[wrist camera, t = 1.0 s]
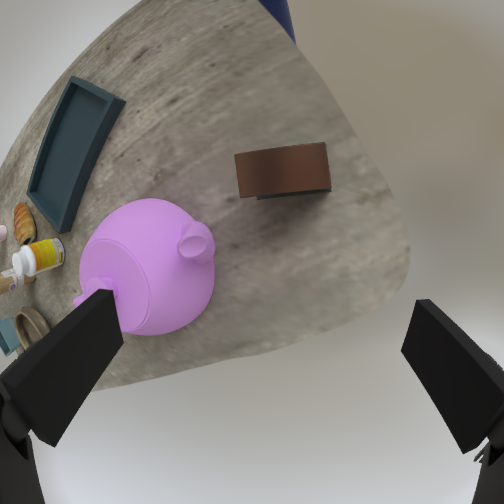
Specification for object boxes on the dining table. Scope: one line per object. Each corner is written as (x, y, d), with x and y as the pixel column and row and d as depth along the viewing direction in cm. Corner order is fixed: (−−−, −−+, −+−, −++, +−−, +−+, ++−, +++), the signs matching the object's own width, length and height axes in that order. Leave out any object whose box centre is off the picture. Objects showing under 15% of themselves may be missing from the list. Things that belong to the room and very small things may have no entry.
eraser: (324, 154, 30) (329, 136, 19) (329, 191, 30) (337, 192, 20) (257, 162, 32) (228, 150, 21) (262, 198, 32) (235, 204, 22)
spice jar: (35, 285, 47) (-9, 304, 34) (26, 275, 48) (-17, 292, 35) (35, 267, 46) (-11, 285, 33) (26, 258, 46) (-19, 274, 34)
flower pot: (33, 338, 53) (11, 352, 45) (26, 344, 56) (5, 357, 47) (18, 309, 52) (-5, 321, 44) (12, 318, 55) (-9, 329, 46)
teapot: (139, 335, 42) (87, 379, 29) (91, 239, 40) (26, 258, 27) (278, 283, 34) (254, 339, 21) (214, 154, 32) (154, 137, 19)
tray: (82, 78, 34) (71, 75, 31) (126, 101, 33) (114, 97, 31) (36, 192, 41) (26, 193, 39) (70, 231, 41) (59, 234, 38)
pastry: (17, 212, 44) (5, 214, 41) (28, 195, 42) (14, 196, 39) (29, 248, 45) (17, 252, 42) (40, 233, 43) (26, 236, 40)
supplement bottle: (57, 230, 42) (14, 241, 32) (69, 255, 42) (27, 270, 32) (47, 247, 43) (7, 259, 34) (58, 270, 44) (19, 286, 34)
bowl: (40, 292, 47) (8, 307, 38) (79, 361, 49) (50, 383, 39) (25, 311, 51) (-2, 325, 42) (58, 370, 53) (34, 388, 43)
